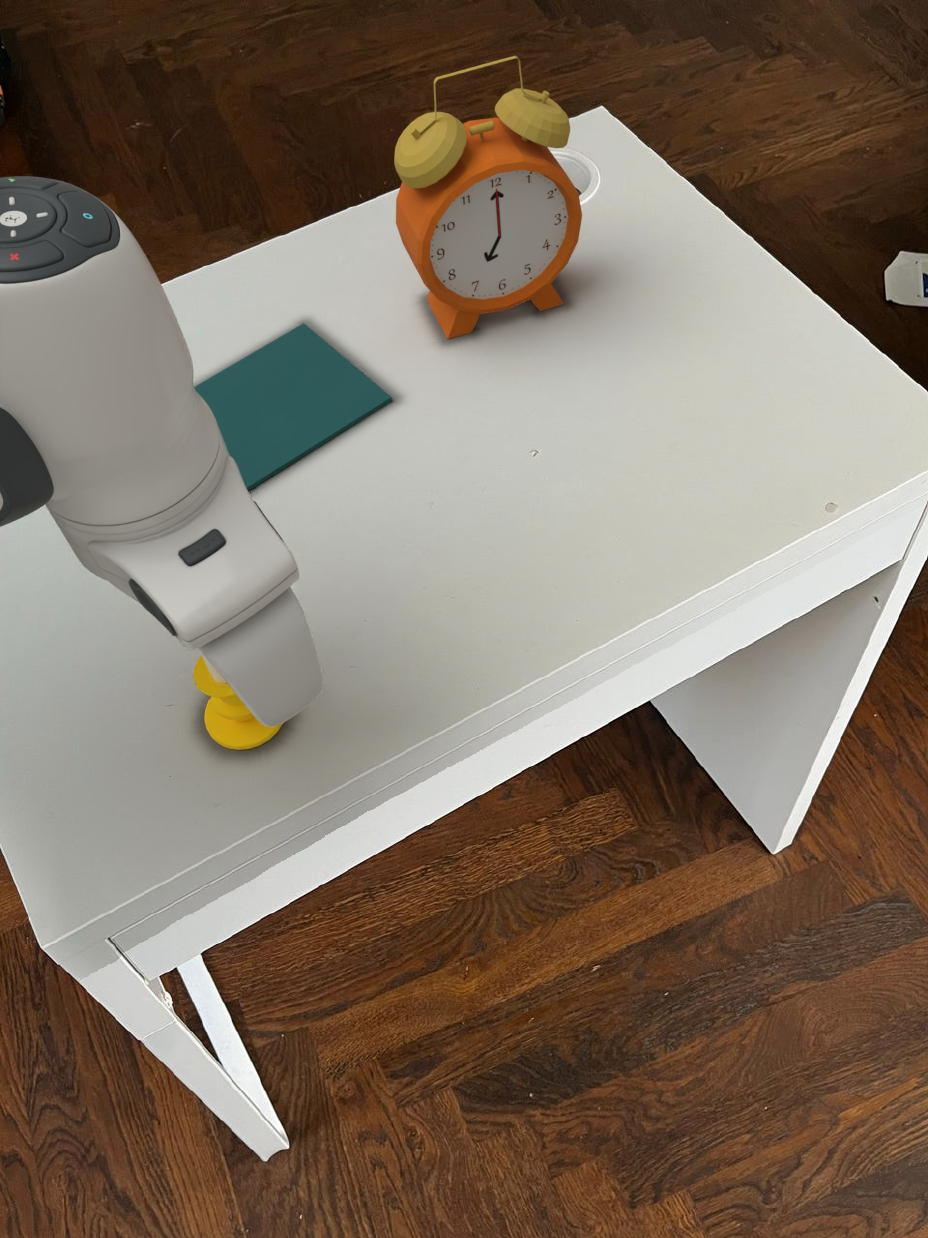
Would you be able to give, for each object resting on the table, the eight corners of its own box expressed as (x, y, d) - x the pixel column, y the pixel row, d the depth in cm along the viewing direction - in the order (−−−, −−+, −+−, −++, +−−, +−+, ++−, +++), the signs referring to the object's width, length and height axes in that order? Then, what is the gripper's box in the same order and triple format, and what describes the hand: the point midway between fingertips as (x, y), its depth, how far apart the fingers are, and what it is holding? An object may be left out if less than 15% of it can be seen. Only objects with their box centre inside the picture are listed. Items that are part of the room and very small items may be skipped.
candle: (221, 763, 71) (142, 620, 59) (195, 700, 74) (115, 551, 62) (298, 728, 72) (238, 580, 60) (270, 667, 75) (206, 513, 63)
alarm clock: (431, 349, 92) (398, 117, 75) (407, 303, 95) (371, 71, 79) (585, 302, 93) (585, 65, 77) (556, 258, 97) (551, 22, 80)
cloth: (195, 524, 83) (194, 520, 83) (115, 437, 89) (113, 433, 89) (392, 400, 89) (391, 396, 88) (304, 326, 95) (303, 322, 94)
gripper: (-2, 418, 60) (93, 576, 72) (199, 657, 50) (273, 797, 62) (102, 359, 62) (178, 522, 74) (316, 578, 52) (367, 728, 63)
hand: (223, 649), depth 67 cm, fingers open, 8 cm apart
